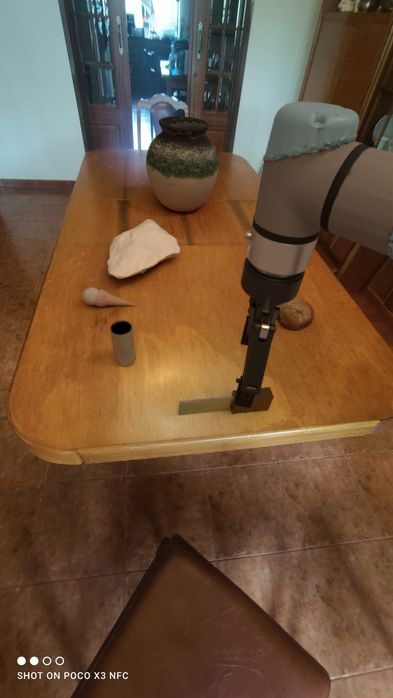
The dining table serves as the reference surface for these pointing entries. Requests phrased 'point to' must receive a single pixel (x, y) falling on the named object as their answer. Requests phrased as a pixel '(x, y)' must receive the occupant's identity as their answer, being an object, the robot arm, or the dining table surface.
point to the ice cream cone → (103, 298)
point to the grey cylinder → (123, 343)
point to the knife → (227, 404)
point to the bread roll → (296, 314)
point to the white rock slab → (140, 249)
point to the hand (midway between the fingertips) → (245, 372)
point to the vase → (182, 163)
